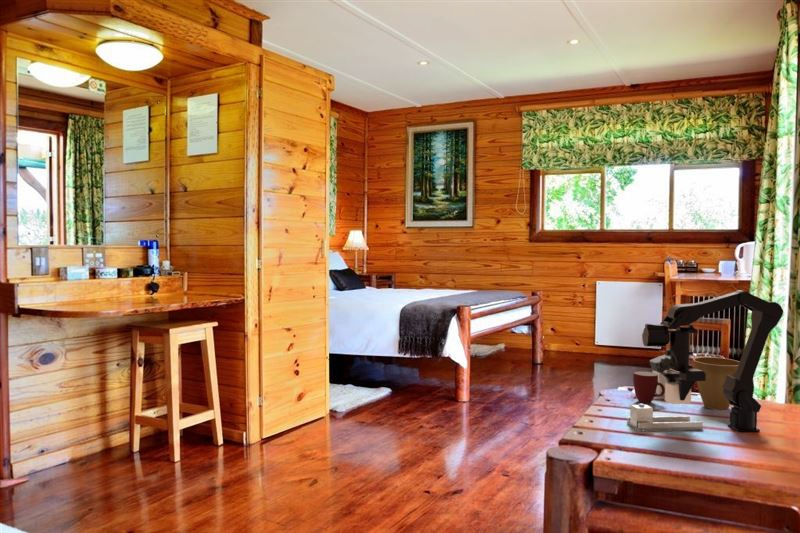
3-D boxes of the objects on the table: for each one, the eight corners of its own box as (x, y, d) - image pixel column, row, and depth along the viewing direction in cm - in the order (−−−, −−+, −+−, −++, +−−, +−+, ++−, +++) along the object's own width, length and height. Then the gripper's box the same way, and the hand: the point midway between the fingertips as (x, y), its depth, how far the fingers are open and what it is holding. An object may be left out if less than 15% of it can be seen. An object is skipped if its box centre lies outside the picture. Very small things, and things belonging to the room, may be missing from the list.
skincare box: (670, 395, 233) (671, 362, 232) (658, 395, 232) (659, 362, 232) (662, 391, 239) (663, 359, 238) (651, 391, 238) (652, 359, 238)
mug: (666, 402, 222) (667, 373, 222) (663, 407, 215) (664, 377, 215) (634, 398, 227) (635, 370, 227) (630, 402, 220) (631, 374, 220)
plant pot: (686, 400, 224) (687, 356, 224) (730, 403, 222) (732, 357, 222) (700, 411, 209) (701, 363, 209) (747, 414, 207) (749, 365, 207)
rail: (687, 422, 196) (688, 400, 196) (702, 429, 188) (703, 406, 188) (626, 423, 193) (627, 401, 193) (639, 431, 186) (640, 407, 186)
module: (683, 400, 193) (683, 380, 193) (690, 403, 190) (691, 382, 189) (664, 400, 193) (665, 380, 192) (672, 403, 189) (672, 383, 189)
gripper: (638, 342, 199) (637, 392, 199) (671, 352, 180) (670, 407, 181) (671, 342, 200) (670, 391, 201) (707, 352, 182) (706, 406, 182)
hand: (678, 398), depth 191 cm, fingers closed on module, 4 cm apart
